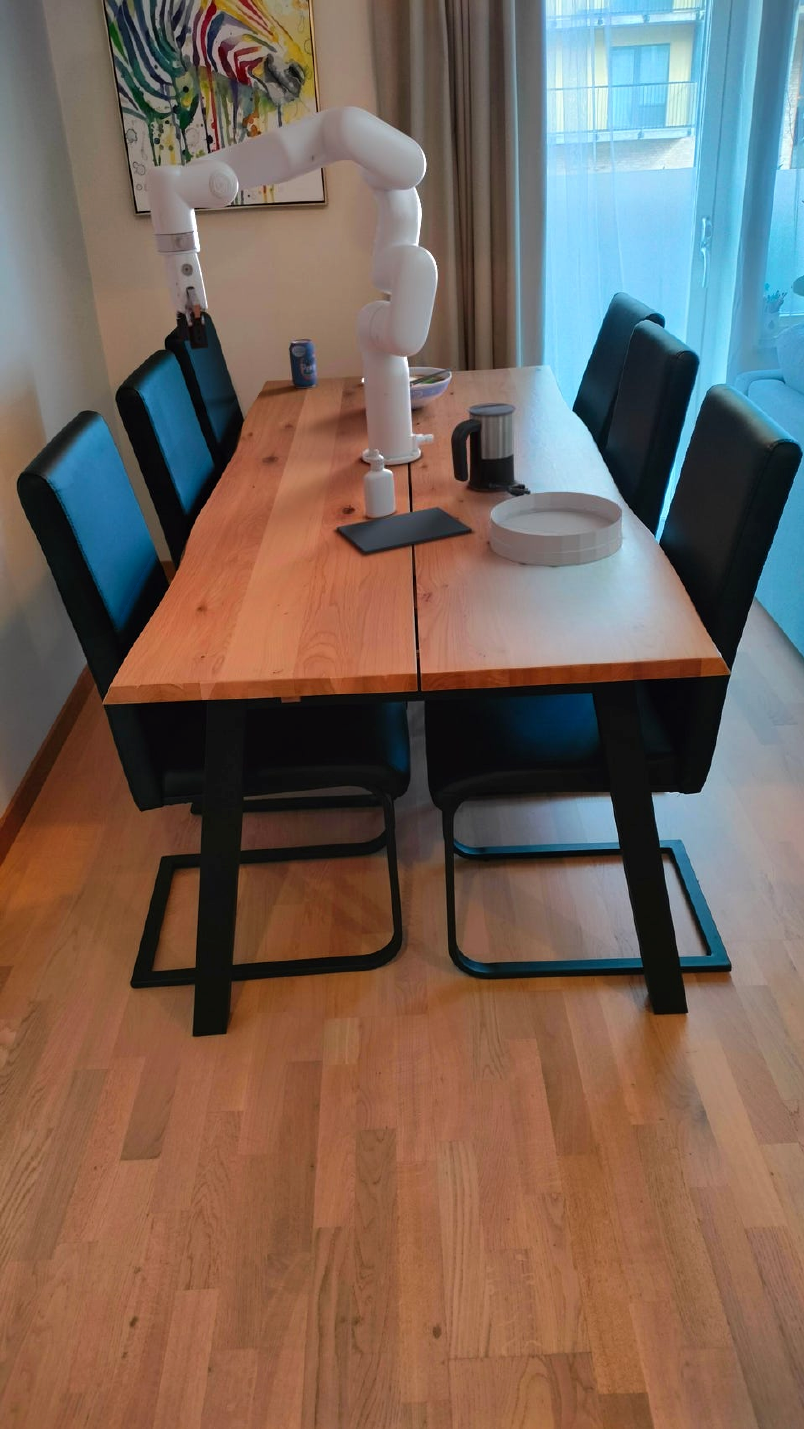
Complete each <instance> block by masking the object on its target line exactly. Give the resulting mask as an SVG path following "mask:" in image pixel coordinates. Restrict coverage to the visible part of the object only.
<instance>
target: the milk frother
mask: <svg viewBox="0 0 804 1429" xmlns="http://www.w3.org/2000/svg"><path fill="white" fill-rule="evenodd" d="M515 411H516V406H514V405H512V404H509V403H502V402H487V403H480V404H475V405H472V406H469V407H468V408H467V412H468V413H469V416H468V417H469V418H468V419H466V420H463V421H460V422H459V423H458V424H457V425H456V426H455V427H454V429H453V431H452V432H451V437H450V446H451V458H452V468H453V469H452V470H453V477H454V479H455V480H456V481H459V482H462V483H463V482H468V486H469V487H470V488H472V489H475V490H478V491H484V492H487V491H488V492H493V491H501V492H506V493H508V494H510V495H512V496H513V497H518V496H522V495H528V494H531V490H530V489H529V487H526V484H524V483H518V484H516V483H517V481H516V479H515V454H514V453H515ZM468 438H469V462H468V448H467V441H468Z"/></svg>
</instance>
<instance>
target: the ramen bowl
mask: <svg viewBox="0 0 804 1429" xmlns="http://www.w3.org/2000/svg"><path fill="white" fill-rule="evenodd" d="M456 368H457V367H456V366H452V367H449V368H446V369H443V368H438V367H428V366H426V367H425V366H423V367H422V366H413V367H409V366H408V369H409V381H410V382H409V384H410V402H411V411H412V410H417V409H420V408H423V407H424V406H425V405H427V404H430V403H432V402H433V401H435V400H436V399H438V398H439V397H440V396H442V395H443V394H444V392H445V391H446V389H447V388H448V386H449V384H450V381H451V379H452V372H451V371H452V370H455V369H456ZM360 382H361V384H362V386H363V387H364V377H363V376H362V378H361V381H360Z"/></svg>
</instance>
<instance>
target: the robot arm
mask: <svg viewBox="0 0 804 1429" xmlns="http://www.w3.org/2000/svg"><path fill="white" fill-rule="evenodd" d="M341 161H352V162H354V163H356V164H357V169H358V172H359V175H360V177H361V178H362V180H363V182H364V183H365V184H366V185H367V187H368V188H369V190H370V191H371V193H372V195H373V197H374V199H375V202H376V208H377V220H376V221H377V222H376V228H375V229H376V230H375V236H374V242H373V250H372V256H371V261H370V269H369V276H370V280H371V282H372V285H373V286H374V288H376V289H377V291H379V292H382V293H384V294H387V295H390V297H389V301H388V300H374V301H371V302H368V303H366V305H364V306H363V307H362V308H361V309H360V311H359V312H358V314H357V317H356V321H355V336H356V341H357V346H358V350H359V354H360V360H361V365H362V373H363V374H362V378H363V377H364V386H363V388H364V389H363V390H364V400H365V401H364V404H365V416H366V427H367V429H366V430H367V442H368V448H367V449H365V450H363V452H362V453H361V457H362V458H361V459H362V460H363V461H364V462H365V463H367V464H370V465H371V462H370V458H371V457H373V456H374V450H378V451H379V454H380V456H383V457H384V466H394V465H403V464H408V463H411V462H414V461H416V460H417V459H419V458H420V457H421V449H420V447H421V446H422V445H429V444H430V445H431V444H433V443H434V442H435V437H434V435H433V433H430V434H423V433H418V434H416V433H414V432H413V423H412V410H411V402H410V384H409V382H410V381H409V369H408V368H409V363H408V357H412V356H415V355H416V354H418V353H419V352H420V351H421V350H422V348H423V347H424V345H425V343H426V341H427V338H428V335H429V330H430V325H431V320H432V316H433V309H434V304H435V299H436V292H437V288H438V268H437V265H436V261H435V258H434V257H433V255H432V254H431V253H430V251H428V250H427V249H426V248H425V247H422V246H420V245H419V239H420V232H421V231H420V230H421V222H422V207H421V201H420V198H419V195H418V192H417V189H416V186H418V185H419V184H420V183H421V181H422V180H423V178H424V176H425V173H426V169H427V161H426V156H425V152H424V151H423V149H422V147H421V146H420V144H418V143H417V141H415V140H414V139H413V138H412V137H410V136H408V135H407V134H405V133H404V132H402V131H400V130H399V129H397V128H395V127H393V125H390V124H389V123H388V122H386V121H384V120H382V119H380V118H379V117H377V116H376V115H375V114H373V113H370V112H369V111H368V110H366V109H363V108H361V107H358V106H354V105H348V106H337V107H336V106H335V107H329V108H326V109H323V110H321V111H320V110H319V111H318V112H316V113H312V114H310V115H308V116H305V117H302V118H300V119H298V120H294V121H292V122H290V123H287V124H284V125H282V126H279V127H277V128H274V129H272V130H269V131H265V132H263V133H260V134H258V135H255V136H253V137H250V138H248V139H245V140H243V141H240V142H238V143H234V144H232V145H228V146H225V147H222V148H220V149H218V150H215V151H213V152H210V153H207V154H205V155H202V156H199V157H197V158H194V159H192V160H190V161H188V162H187V163H185V164H184V165H181V164H165V165H164V164H163V165H155V166H150V167H149V168H147V169H146V170H145V173H144V180H145V187H146V194H147V198H148V199H147V200H148V204H149V210H150V216H151V222H152V227H153V228H152V229H153V234H154V240H155V246H156V252H157V255H158V256H163V257H164V258H163V259H164V265H165V271H166V278H167V284H168V285H167V286H168V291H169V296H170V301H171V305H172V307H173V308H174V309H175V317H176V319H175V320H176V326H177V332H178V337H179V341H181V342H187V341H189V347H190V349H191V350H199V349H206V348H208V347H209V341H208V335H207V329H206V328H207V327H206V324H205V318H204V315H203V314H204V313H203V312H207V311H208V310H209V309H208V301H207V295H206V289H205V285H204V281H203V280H204V279H203V275H202V269H201V265H200V261H199V258H198V254H197V253H199V252H200V251H201V247H200V240H199V233H198V226H197V219H196V214H195V209H196V208H197V209H198V208H199V209H203V208H204V209H222V208H225V207H227V206H229V205H230V204H232V203H233V202H234V200H235V199H236V197H237V196H238V192H242V191H246V190H248V189H253V188H256V187H264V186H265V187H266V186H274V185H279V184H284V183H288V182H290V181H293V180H295V179H297V178H300V177H302V176H305V175H307V174H309V173H312V172H314V171H317V170H320V169H322V168H325V167H327V166H330V165H332V164H335V163H338V162H341Z"/></svg>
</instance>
